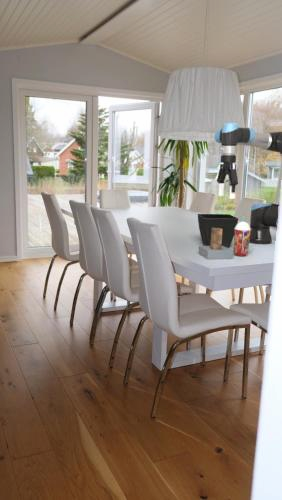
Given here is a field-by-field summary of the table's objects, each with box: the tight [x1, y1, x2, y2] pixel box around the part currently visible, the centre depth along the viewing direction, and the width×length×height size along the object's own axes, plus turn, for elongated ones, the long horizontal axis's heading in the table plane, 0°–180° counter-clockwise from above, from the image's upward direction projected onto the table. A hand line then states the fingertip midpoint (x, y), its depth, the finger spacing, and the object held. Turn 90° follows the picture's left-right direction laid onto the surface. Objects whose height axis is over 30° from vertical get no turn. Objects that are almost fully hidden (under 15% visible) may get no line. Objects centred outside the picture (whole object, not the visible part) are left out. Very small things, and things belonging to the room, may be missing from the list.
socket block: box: [197, 245, 234, 260], centre depth 222 cm, size 13×13×4 cm
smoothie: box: [233, 215, 251, 257], centre depth 225 cm, size 8×8×20 cm
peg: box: [210, 228, 222, 250], centre depth 221 cm, size 4×4×14 cm
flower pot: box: [197, 213, 239, 248], centre depth 249 cm, size 19×19×17 cm
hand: (226, 197), depth 228 cm, fingers open, 13 cm apart
